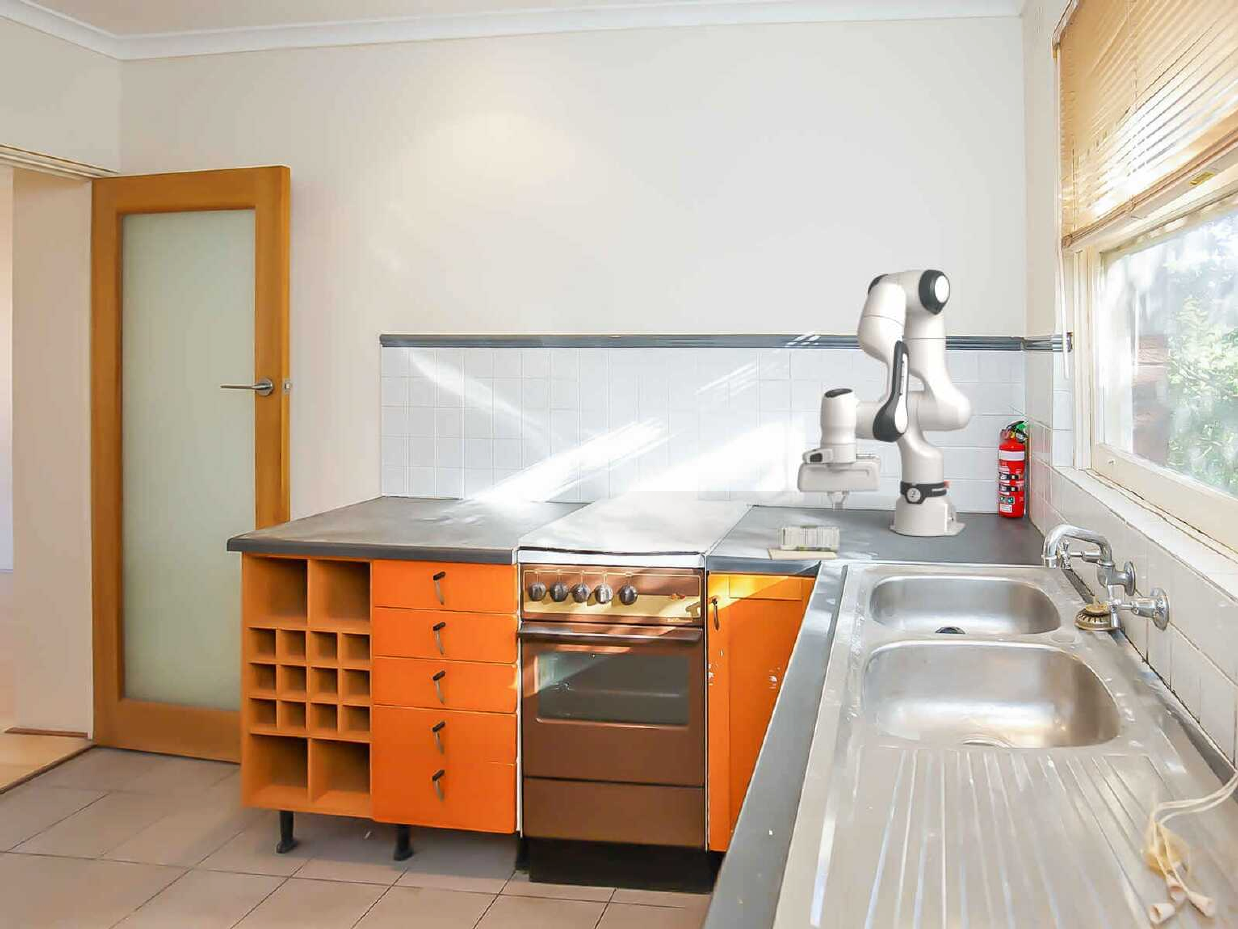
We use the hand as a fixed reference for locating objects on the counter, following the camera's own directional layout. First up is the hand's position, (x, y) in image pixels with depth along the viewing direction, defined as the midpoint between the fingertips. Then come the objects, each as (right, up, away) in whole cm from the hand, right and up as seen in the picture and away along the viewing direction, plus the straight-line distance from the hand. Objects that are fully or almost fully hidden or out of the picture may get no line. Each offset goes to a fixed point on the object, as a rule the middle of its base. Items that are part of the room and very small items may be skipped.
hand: (838, 509), depth 265 cm
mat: (-9, -11, +2) cm, 14 cm away
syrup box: (+1, -7, +3) cm, 8 cm away
